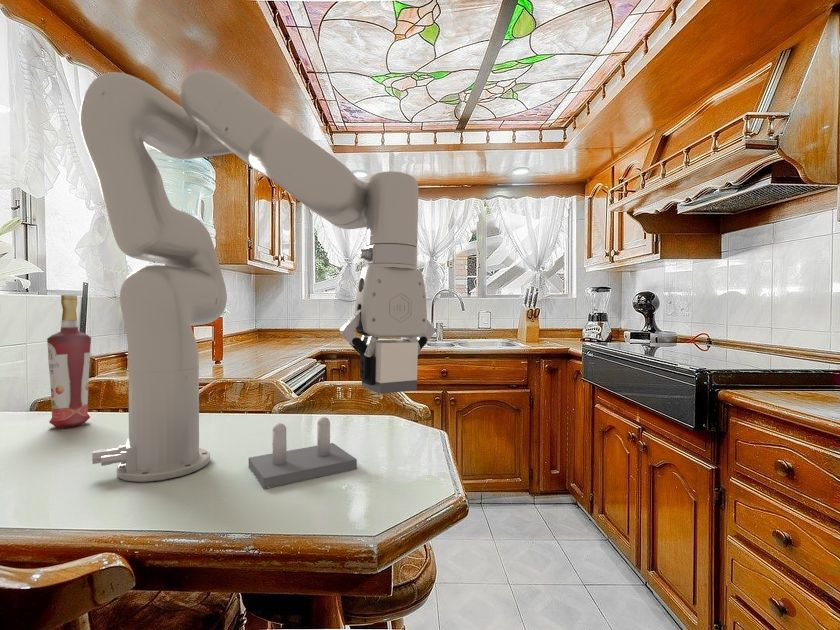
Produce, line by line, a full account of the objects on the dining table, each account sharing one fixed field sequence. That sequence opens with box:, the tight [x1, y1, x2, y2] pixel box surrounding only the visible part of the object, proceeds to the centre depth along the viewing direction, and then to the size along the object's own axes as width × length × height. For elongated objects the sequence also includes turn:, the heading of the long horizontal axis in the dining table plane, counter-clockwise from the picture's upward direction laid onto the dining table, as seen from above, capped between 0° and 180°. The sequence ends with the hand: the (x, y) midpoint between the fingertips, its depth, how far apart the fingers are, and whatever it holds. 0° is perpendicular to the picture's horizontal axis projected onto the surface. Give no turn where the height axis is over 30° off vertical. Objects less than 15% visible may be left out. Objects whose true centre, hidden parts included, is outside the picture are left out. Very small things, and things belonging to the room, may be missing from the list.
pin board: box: [248, 416, 358, 489], centre depth 68 cm, size 14×10×8 cm
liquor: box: [46, 294, 92, 429], centre depth 93 cm, size 7×7×28 cm
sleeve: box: [361, 339, 419, 395], centre depth 64 cm, size 6×6×7 cm
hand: (388, 380), depth 64 cm, fingers closed on sleeve, 6 cm apart
